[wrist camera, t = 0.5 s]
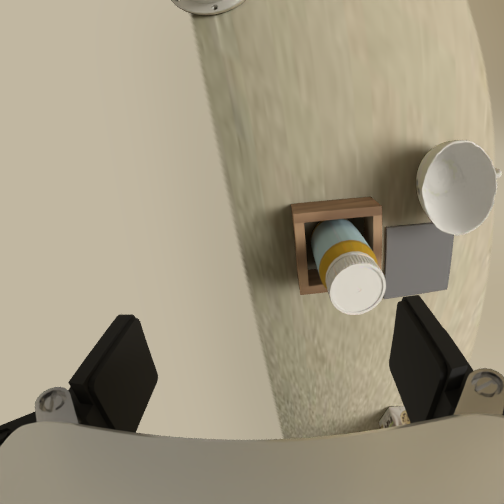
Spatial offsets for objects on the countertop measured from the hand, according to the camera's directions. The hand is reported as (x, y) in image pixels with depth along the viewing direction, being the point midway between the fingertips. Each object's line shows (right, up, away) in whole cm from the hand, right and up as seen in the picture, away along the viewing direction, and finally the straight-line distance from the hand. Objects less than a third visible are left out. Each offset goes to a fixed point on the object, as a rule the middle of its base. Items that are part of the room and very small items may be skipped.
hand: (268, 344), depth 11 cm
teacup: (+28, +15, +30) cm, 43 cm away
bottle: (+11, +5, +35) cm, 37 cm away
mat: (+26, +2, +35) cm, 44 cm away
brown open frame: (+11, +5, +35) cm, 37 cm away
